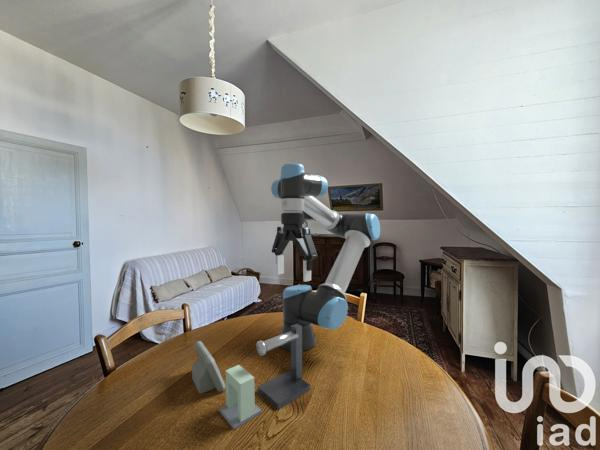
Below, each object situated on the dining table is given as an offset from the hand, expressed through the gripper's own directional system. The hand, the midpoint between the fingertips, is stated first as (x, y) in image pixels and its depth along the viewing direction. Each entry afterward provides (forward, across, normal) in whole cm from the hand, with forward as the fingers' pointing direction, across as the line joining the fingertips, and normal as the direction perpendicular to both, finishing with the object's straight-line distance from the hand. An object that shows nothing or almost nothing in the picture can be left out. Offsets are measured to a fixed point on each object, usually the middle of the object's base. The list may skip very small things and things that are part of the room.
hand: (293, 277), depth 86 cm
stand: (+32, +5, -9) cm, 33 cm away
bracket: (+31, +4, -22) cm, 38 cm away
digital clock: (+32, -14, -22) cm, 42 cm away
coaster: (+32, +4, -22) cm, 39 cm away
